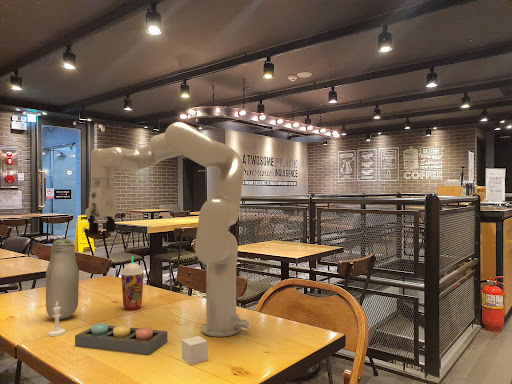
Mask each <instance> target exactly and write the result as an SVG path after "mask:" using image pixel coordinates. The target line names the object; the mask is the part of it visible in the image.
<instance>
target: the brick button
mask: <svg viewBox="0 0 512 384" xmlns="http://www.w3.org/2000/svg"><path fill="white" fill-rule="evenodd" d="M153 330H154V329H153V328H152V327H149V326H148V327H147V326H146V327H140V329H137V330H136V339H137V340H146V341H148V340H150V339H151V338H153Z"/></svg>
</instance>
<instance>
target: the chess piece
mask: <svg viewBox="0 0 512 384" xmlns="http://www.w3.org/2000/svg"><path fill="white" fill-rule="evenodd" d="M53 310H54V312H55V315H53V317H55V319H54V324H53V325H54V326H53V328H52V329H51V330H49V331H48V332H47V333H48V334H47V335H48V336H49V337H58V336H62V335H65V334H66V329H65V328H62V327H61V326H60V319H59V316H61V314H59V311H60V307H58V301H56V307H55V308H53Z"/></svg>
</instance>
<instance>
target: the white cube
mask: <svg viewBox="0 0 512 384" xmlns="http://www.w3.org/2000/svg"><path fill="white" fill-rule="evenodd" d="M208 344H209V343H208V340H206V339H205V338H203V337H202V336H200V335H197V336H192V337H188V338H184V339H183V338H182V339H181V359H182V360H183V361H184V362H186V364H188V363H189V364H188V365H190V366H192V365H194V364H198V363H201V362H205V361H208V359H209V357H208V349H209V348H208V346H209V345H208Z"/></svg>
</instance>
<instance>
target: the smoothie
mask: <svg viewBox="0 0 512 384" xmlns="http://www.w3.org/2000/svg"><path fill="white" fill-rule="evenodd" d="M144 273H145V272H144V270H143V268H142V267H141V266H140V264H138V263H135V262H134V255H132V256H131V263H128V264H127V265H125V266H124V267H123V269H122V271H121V273H120V274H121V277H120V278H121V293H122V304H123V306H122V307H124V309H125V310H126V311H136V310H138V309H141V305H143V293H144V291H143V289H144V275H145V274H144Z"/></svg>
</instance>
